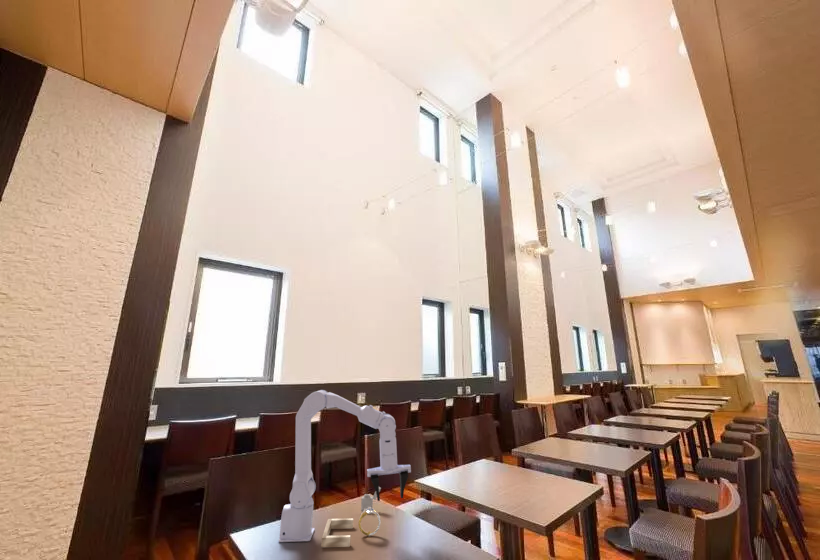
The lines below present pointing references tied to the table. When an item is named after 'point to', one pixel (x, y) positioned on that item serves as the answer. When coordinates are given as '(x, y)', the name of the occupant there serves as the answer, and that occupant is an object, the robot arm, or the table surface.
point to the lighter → (368, 501)
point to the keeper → (340, 539)
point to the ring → (368, 510)
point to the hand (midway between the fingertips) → (390, 498)
